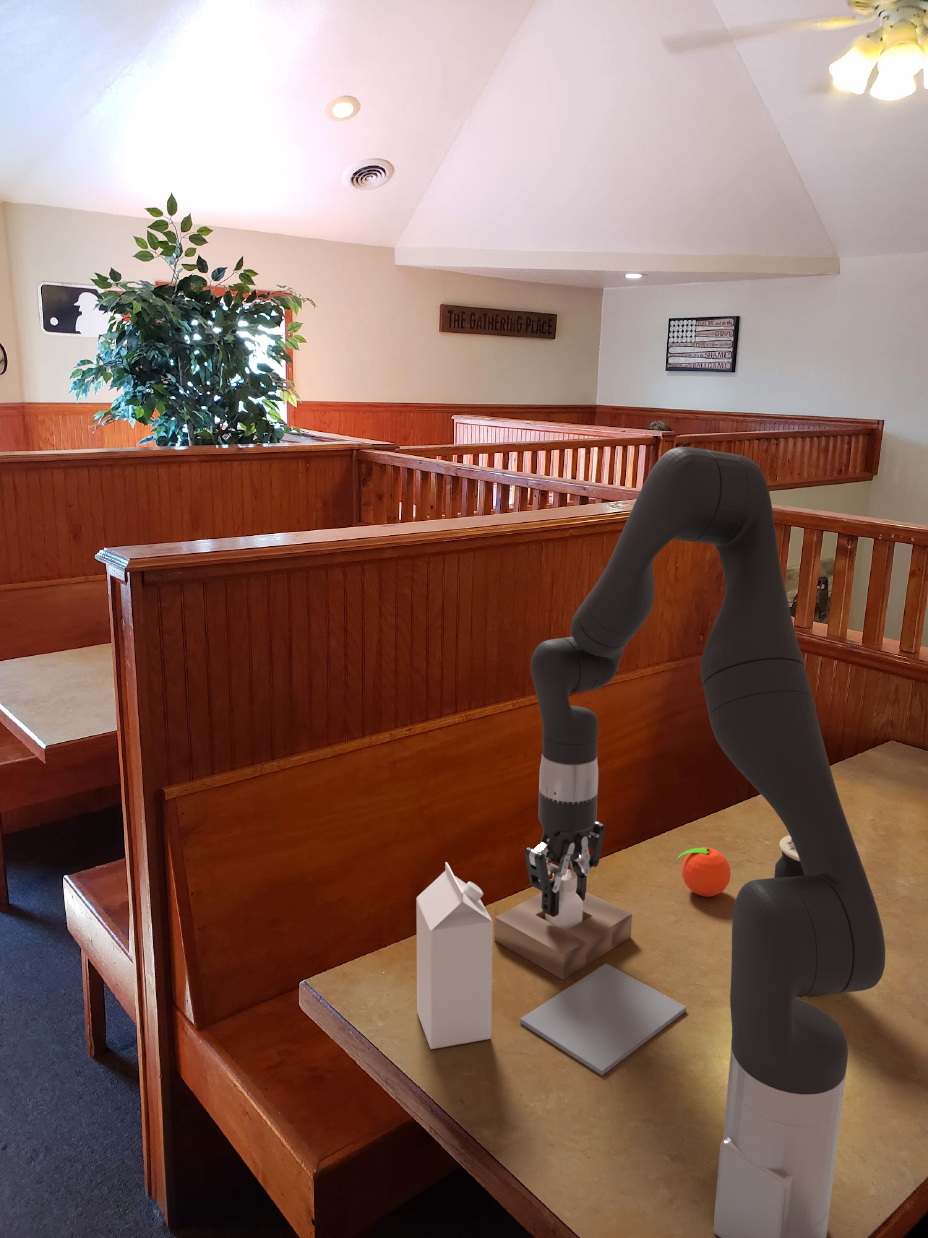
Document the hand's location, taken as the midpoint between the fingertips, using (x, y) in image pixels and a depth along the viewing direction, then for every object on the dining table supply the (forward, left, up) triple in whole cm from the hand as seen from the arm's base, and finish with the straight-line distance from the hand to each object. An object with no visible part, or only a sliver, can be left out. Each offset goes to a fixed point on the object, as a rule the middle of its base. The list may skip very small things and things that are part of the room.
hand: (564, 906), depth 127 cm
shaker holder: (0, 0, -5) cm, 5 cm away
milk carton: (-23, -3, -5) cm, 24 cm away
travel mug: (+15, -26, -5) cm, 30 cm away
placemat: (-9, -14, -5) cm, 17 cm away
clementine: (+24, -6, -5) cm, 25 cm away
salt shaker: (0, 0, -5) cm, 5 cm away
